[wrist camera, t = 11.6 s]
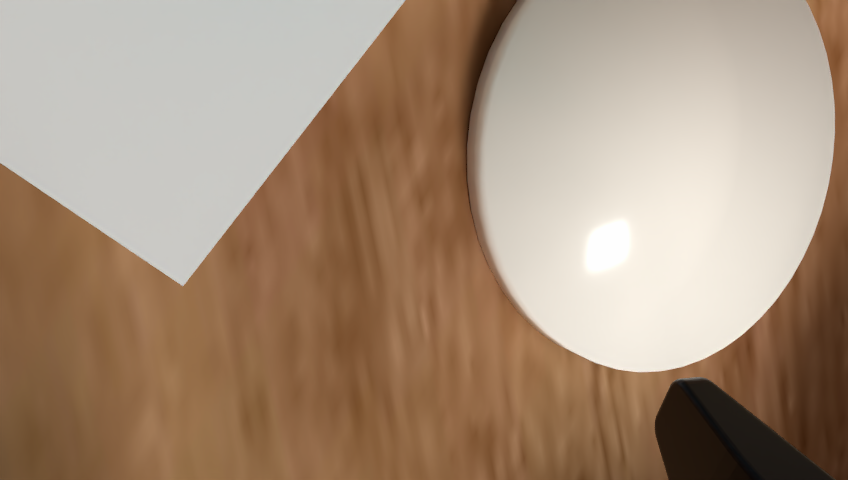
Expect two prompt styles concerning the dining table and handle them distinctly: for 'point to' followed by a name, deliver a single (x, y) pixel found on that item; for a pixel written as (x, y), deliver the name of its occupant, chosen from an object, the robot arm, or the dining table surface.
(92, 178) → the grey mat
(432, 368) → the dining table surface
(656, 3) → the cream saucer
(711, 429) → the robot arm
